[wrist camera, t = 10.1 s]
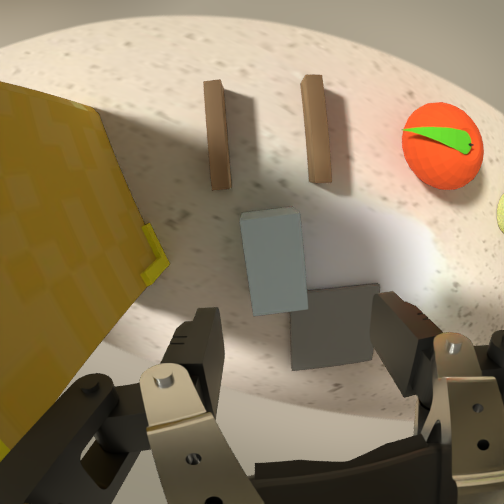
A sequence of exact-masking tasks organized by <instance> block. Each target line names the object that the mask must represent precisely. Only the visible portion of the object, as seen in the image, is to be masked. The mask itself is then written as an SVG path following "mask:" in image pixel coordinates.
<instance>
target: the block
mask: <svg viewBox="0 0 504 504" xmlns="http://www.w3.org/2000/svg"><path fill="white" fill-rule="evenodd" d="M240 227H241V234H242V241H243V248H244V255H245V262H246V269H247V276H248V282H249V289H250V296H251V303H252V309H253V316H260V315H268V314H276V313H284V312H292V311H299V310H306V309H308V299H307V285H306V272H305V260H304V249H303V238H302V228H301V218H300V213H299V212H298V211H297V210H296V209H295V208H294V207H293V206H292V207H284V208H275V209H267V210H259V211H252V212H244V213H242V214H241V217H240Z"/></svg>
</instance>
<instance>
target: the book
mask: <svg viewBox="0 0 504 504" xmlns="http://www.w3.org/2000/svg"><path fill="white" fill-rule="evenodd" d="M169 265H170V263H169V261H168V259H167V257H166V255H165V253H164V251H163V249H162V247H161V245H160V243H159V241H158V239H157V236H156V234H155V232H154V230H153V228H152V226H151V224H150V223H148V224H146V225H145V224H144V221H143V219H142V217H141V215H140V213H139V211H138V208H137V206H136V204H135V202H134V199H133V197H132V195H131V193H130V190H129V188H128V186H127V183H126V181H125V179H124V176H123V174H122V172H121V169H120V167H119V165H118V162H117V160H116V157H115V155H114V152H113V150H112V147H111V145H110V142H109V139H108V137H107V134H106V132H105V129H104V126H103V124H102V121H101V118H100V115H99V114H98V113H97V112H96V111H95V110H94V109H93V108H92V107H90V106H86V105H83V104H80V103H77V102H74V101H71V100H67V99H64V98H61V97H57V96H54V95H50V94H47V93H43V92H40V91H36V90H32V89H29V88H25V87H21V86H17V85H13V84H9V83H5V82H0V462H1V461H2V459H3V458H4V457H5V456H6V455H7V454H8V453H9V452H10V450H11V449H12V448H13V447H14V446H15V445H16V444H17V443H18V442H19V440H20V439H21V438H22V437H23V436H24V435H25V434H26V433H27V432H28V431H29V430H30V428H31V427H32V426H33V425H34V424H35V423H36V422H37V421H38V420H39V419H40V418H41V417H42V416H43V414H44V413H45V412H46V411H47V410H48V409H49V408H50V407H51V406H52V405H53V404H54V403H55V401H56V400H57V399H58V397H59V396H60V395H61V393H62V392H63V390H64V389H65V388H66V387H67V385H68V384H69V383H70V381H71V380H72V379H73V377H74V376H75V375H76V373H77V372H78V371H79V369H80V368H81V367H82V366H83V364H84V363H85V362H86V360H87V359H88V358H89V357H90V355H91V354H92V353H93V352H94V350H95V349H96V348H97V346H98V345H99V344H100V343H101V342H102V340H103V339H104V338H105V337H106V335H107V334H108V333H109V332H110V330H111V329H112V328H113V327H114V326H115V324H116V323H117V322H118V321H119V319H120V318H121V317H122V316H123V315H124V313H125V312H126V311H127V310H128V309H129V308H130V306H131V305H132V304H133V303H134V302H135V300H136V299H137V298H138V297H139V296H140V295H141V293H142V292H143V291H144V290H145V289H146V288H147V286H150V285H152V284H153V283H154V282H155V280H156V279H157V278H158V277H159V276H160V275H161V273H162V272H163V271H164V270H165V269H166V268H167V267H168V266H169Z"/></svg>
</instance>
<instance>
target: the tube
mask: <svg viewBox="0 0 504 504" xmlns="http://www.w3.org/2000/svg"><path fill="white" fill-rule="evenodd" d="M497 221H498V225H499V227H500V229H501V231H502V232H503V233H504V194H503V195H502V197H501V198H500V201H499V204H498V208H497Z"/></svg>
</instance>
